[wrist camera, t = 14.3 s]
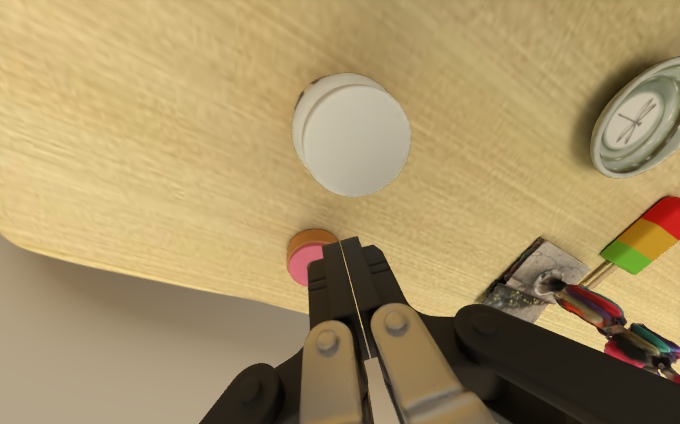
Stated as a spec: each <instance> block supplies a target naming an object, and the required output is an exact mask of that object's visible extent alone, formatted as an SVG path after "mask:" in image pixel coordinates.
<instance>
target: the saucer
mask: <svg viewBox="0 0 680 424" xmlns="http://www.w3.org/2000/svg"><path fill="white" fill-rule="evenodd" d="M590 147H591V159H592V162H593V165H594V166H595V168H596V169H597V170H598V171H599V172H600V173H601V174H603V175H605V176H607V177H611V178H628V177H632V176H635V175H638V174H641V173H643V172H645V171H648V170H649V169H651V168H653V167H655V166H656V165H658V164H660V163H661V162H663V161H664V160H665V159H667V158H668V157H669V156H671V155H672V154H673V153H674V152H675V151H676V150H678V149H679V148H680V56H677V57H673V58H670V59H667V60H664V61H662V62H660V63H657V64H655V65H654V66H652V67H650V68H648V69H647V70H645V71H644V72H642V73H641V74H639V75H638V76H637V77H635V78H634V79H633V80H632V81H631V82H629V83H628V84H627V85H626V86H625V87H623V88H622V89H621V90H620V91H619V92H618V93H617V94H616V95H615V96H614V97H613V98H612V99H611V100H610V102H609V103H608V104H607V105H606V107H605V108H604V110H603V111H602V112H601V114H600V116H599V118H598V119H597V121H596V124H595V126H594V129H593V132H592V136H591V144H590Z"/></svg>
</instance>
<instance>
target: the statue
mask: <svg viewBox="0 0 680 424" xmlns="http://www.w3.org/2000/svg"><path fill="white" fill-rule="evenodd" d="M538 239H539V240H538V241H537V242H535V243H534V244H533V246H532V247H531V249H529V250H527V251H526V252H525V253H524V254H523V255H522V257H521V259H520V260H519V261H518V262H516V264H515V265H513V266H512V268H511V270H510V271H509V272H508V273H507V274H506V275H505V277H504V280H506V281H508V282H507V283H506V284H503V283H501V282H499V281H497V280H495V281H494V282H493V284H492V286H491V289H489V290H488V293H489V294H488V298H487V299H486V300H485V302H483V305H487V306H490V307H493V308H496V309H498V310H501V311H503V312H505V313H508V314H510V315H513V316H515V317H518V318H520V319H522V320H525V321H527V322H530V323H532V324H533V323H534V322H535V321H536V320H537V318H538V317H539V315H540V314H541V312H542V311H543V310H544V309H545V307H546V306H547V305H548V304H549V303H550V304H556V303H558V304H559V305H560V306H561V307H562V308H564V309H565V310H567V311H569V312H570V313H571V312H572V313H573V314H575V315H577V316H579V317H580V318H581V319H583V320H584V321H586V322H588V323H590V324H591V325H593V326H595V327H596V328H597V330H598V331H599V333H601V334H602V335H604V336H606V338H607V340H609V341H608V342H607V343H606V344H605V349H604V353H605V354H608V355H610V356H613V357H615V358H618V359H620V360H623V361H625V362H627V363H630V364H632V365H635V366H637V367H640V368H642V369H644V370H647V371H649V372H652V373H654V374H657V375H659V376H660V374H659V372H658V369H660V370H661V373H663V374H664V375H665V376H666V377H667V379H669V380H671V381H674V382H676V383H679V384H680V375H679V374H678V373H677V372H676V371H675V370H673V369H672V367H671V364H675V363H677V362H678V360H677V359H680V347H679V346H678V345H676V344H675V343H674V342H672V341H669V340H667V339H665V338H663V337H661V336H660V335H658V334H656V333H655V332H653V331H651V330H649V329H648V328H647V327H646V326H645V325H644V324H640V323H637V324H635V323H632V324H631V325H630V327H629V328H628V329H626V328H624V325H625V324H626V323H627V321H626V319H625V317H624V312H623V310H622V309H621V308H620V307H619V306H618V305H617V304H616V303H614V302H613V301H612V300H610V299H608V298H606V297H604V296H602V295H600V294H598V293H595V292H593V291H590V290H589V289H588V287H585V286H577V285H575V284H576V283H577V282H578V281H579V280H580V279H581V278H582V277H583V276H584V275H585V274H586V273H587V272H588V271H589V270H591V268H590V267H588V266H587V265H585V264H583V263H582V262H580V261H579V260H577V259H575V258H574V257H572V256H570V255H569V254H567V253H566V252H564V251H562V250H561V249H559V248H558V247H556V246H554V245H553V244H551V243H550V242H548V241H545V240H544V239H542V238H540V237H539V238H538ZM543 241H544V243H543V244H542V245H540V244H541V243H542V242H543ZM609 336H612V338H611V337H609Z"/></svg>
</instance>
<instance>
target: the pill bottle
mask: <svg viewBox="0 0 680 424" xmlns="http://www.w3.org/2000/svg"><path fill="white" fill-rule="evenodd" d="M292 140H293V145H294V149H295V151H296V153H297V155H298V157H299V159H300V160H301V162H302V164H303V165H304V166H305V167H306V168H307V169H308V170H309V171H310V173H311V174H312V176H313V177H314V178H315V180H316V181H317V182H318V183H319V184H320V185H322V186H323V187H324V188H326V189H327V190H329V191H330V192H333V193H335V194H338V195H342V196H347V197H361V196H366V195H370V194H373V193H375V192H377V191H379V190H381V189H383V188H384V187H386V186H387V185H388V184H390V183H391V182H392V181H393V180H394V179H395V178H396V177H397V175H398V174H399V173H400V172H401V170H402V168H403V167H404V165H405V163H406V160H407V158H408V155H409V151H410V146H411V129H410V124H409V121H408V118H407V115H406V113H405V111H404V110H403V108H402V106H401V105H400V104H399V102H398V101H397V100H396V99H395V98H394V97H392V96H391V95H390V94H389V93H388V92H387V91H386V90H385V89H384V88H383V87H382V86H381V85H380V84H378V83H377V82H375V81H374V80H372V79H370V78H368V77H366V76H363V75H359V74H354V73H338V74H333V75H328V76H324V77H321V78H319V79H316V80H315V81H313V82H311V83H310V84H309V85H308V86H307V87H306V88H305V89H304V90H303V91H302V93H301V94H300V96H299V98H298V100H297V102H296V106H295V110H294V115H293V120H292Z"/></svg>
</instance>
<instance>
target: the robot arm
mask: <svg viewBox="0 0 680 424" xmlns="http://www.w3.org/2000/svg"><path fill="white" fill-rule="evenodd" d="M341 245H342V249H343V253H344V257H345V261H346V264H347V268H348V272H349V276H350V280H351V283H352V287H353V291H354V295H355V299H356V302H357V306H358V310H359V314H360V318H361V321H362V325H363V329H364V332H365V336H366V339H367V343H368V346H369V350H370V354H371V358H374V357H378V360H379V364H380V367H381V371H382V374H383V378H384V382H385V385H386V388H387V390H388V393H389V396H390V399H391V402H392V404H393V407H394V410H395V413H396V416H397V419H398V421H399V424H497V423H498V424H680V384H679V383H676V382H674V381H671V380H669V379H666V378H664V377H662V376H659V375H657V374H654V373H652V372H649V371H647V370H644V369H642V368H640V367H637V366H635V365H632V364H630V363H627V362H625V361H623V360H620V359H618V358H615V357H613V356H610V355H608V354H605V353H603V352H601V351H598V350H596V349H593V348H591V347H588V346H586V345H583V344H581V343H579V342H576V341H574V340H571V339H569V338H566V337H564V336H562V335H559V334H557V333H554V332H552V331H549V330H547V329H544V328H542V327H540V326H537V325H535V324H532V323H530V322H527V321H525V320H522V319H520V318H518V317H515V316H513V315H510V314H508V313H505V312H503V311H501V310H498V309H496V308H493V307H490V306H487V305H482V304H472V305H467V306H465V307H463V308H461V309H460V310H459V311H458V312H457V313H456V315H455V317H437V316H429V315H425V314H422V313H420V312H418V311H416V310H415V309H413V308H412V307H411V306H410V305H409V304H408V302H407V300H406V299H405V297H404V295H403V293H402V291H401V289H400V286H399V284H398V282H397V280H396V278H395V276H394V274H393V272H392V270H391V269H390V266H389V264H388V262H387V260H386V258H385V256H384V254H383V252H382V251H381V250H380V249H379V248H377V247H376V246H374V245H370V246H366V247H363V248H362V247H361V244H360V242H359V239H358V237H357V236H356V237H352V238H348V239H345V240H341ZM322 252H323V258H322V259H319V260H315V261H312V263H311V265H310V267H309V269H308V271H307V274H308V291H309V293H308V295H309V317H310V332H309V334H308V335H307V337H306V339H305V342H304V346H303V347H302V348H301V350H300V351H299V352H298V353H297V354H295V355H294V356H293V357H291V358H290V359H288V360H287V361H285V362H284V363H282V364H280V365H279V366H278V367H276V368H273V367H272V366H270V365H268V364H265V363H258V364H254V365H252V366H249V367H248V368H246V369H244V370H243V371H242V372H241V373H239V374H238V375H237V376H236V378H235V379H234V380H233V381H232V382H231V384H230V385H229V386H228V387H227V389H226V390H225V391H224V393H223V394H222V395H221V397H220V398H219V399H218V400H217V402H216V403H215V404H214V405H213V407H212V408H211V409H210V410H209V412H208V413H207V414H206V416H205V417H204V418H203V420H202V421H201V422H200V423H199V424H374V421H373V414H372V407H371V401H370V395H369V388H368V379H367V373H366V369H365V365H364V360H368V359H370V358H369V354H368V351H367V347H366V343H365V339H364V335H363V331H362V327H361V323H360V319H359V315H358V311H357V308H356V304H355V300H354V296H353V292H352V288H351V284H350V280H349V276H348V273H347V269H346V265H345V262H344V258H343V254H342V251H341V247H340V244H339V241H337V242H334V243H330V244H326V245H323V246H322ZM496 422H497V423H496Z"/></svg>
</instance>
